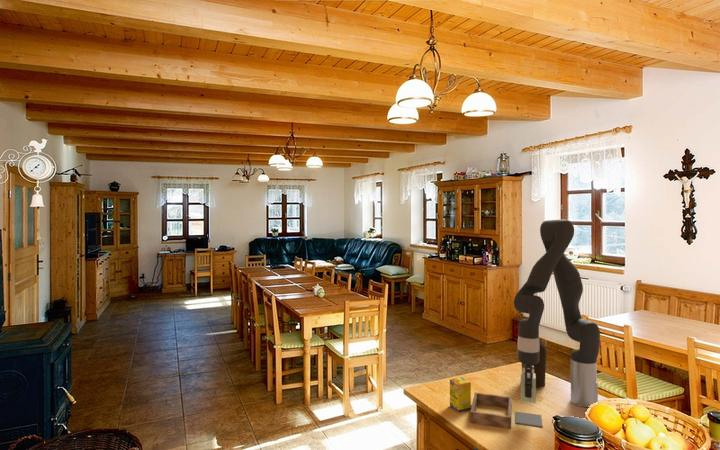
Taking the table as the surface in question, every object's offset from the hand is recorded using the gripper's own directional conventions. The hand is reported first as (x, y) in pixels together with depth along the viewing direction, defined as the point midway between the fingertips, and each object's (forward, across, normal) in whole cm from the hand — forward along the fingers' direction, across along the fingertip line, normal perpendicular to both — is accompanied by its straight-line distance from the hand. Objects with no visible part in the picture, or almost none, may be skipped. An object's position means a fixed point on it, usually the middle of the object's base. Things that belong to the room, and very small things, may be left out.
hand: (528, 394), depth 160 cm
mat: (+10, 0, 0) cm, 10 cm away
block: (+2, 0, 0) cm, 2 cm away
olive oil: (+10, +36, -3) cm, 37 cm away
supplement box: (+10, +2, +25) cm, 27 cm away
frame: (+10, 0, +13) cm, 16 cm away
